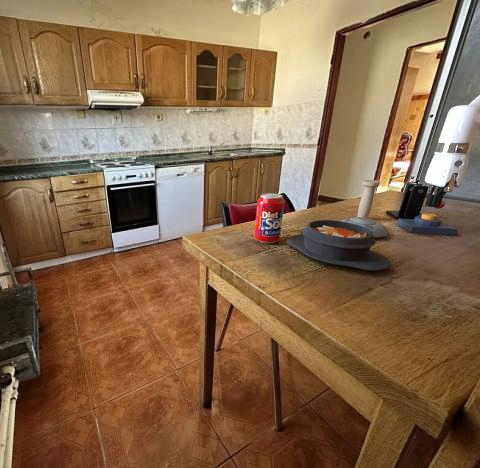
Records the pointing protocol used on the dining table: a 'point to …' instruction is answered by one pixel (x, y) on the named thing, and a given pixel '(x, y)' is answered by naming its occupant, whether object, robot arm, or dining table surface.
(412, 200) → the bracket
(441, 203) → the lever
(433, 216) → the button
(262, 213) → the soda can
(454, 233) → the button box
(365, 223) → the flying saucer
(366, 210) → the handle
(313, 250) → the casserole
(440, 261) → the dining table surface
